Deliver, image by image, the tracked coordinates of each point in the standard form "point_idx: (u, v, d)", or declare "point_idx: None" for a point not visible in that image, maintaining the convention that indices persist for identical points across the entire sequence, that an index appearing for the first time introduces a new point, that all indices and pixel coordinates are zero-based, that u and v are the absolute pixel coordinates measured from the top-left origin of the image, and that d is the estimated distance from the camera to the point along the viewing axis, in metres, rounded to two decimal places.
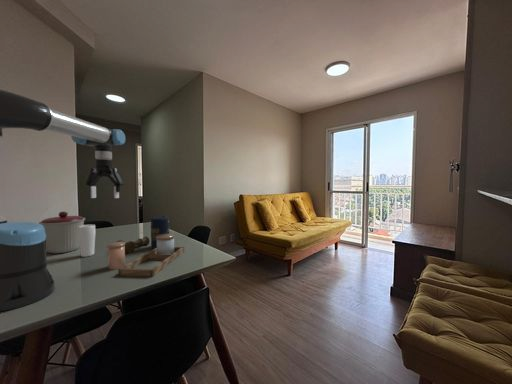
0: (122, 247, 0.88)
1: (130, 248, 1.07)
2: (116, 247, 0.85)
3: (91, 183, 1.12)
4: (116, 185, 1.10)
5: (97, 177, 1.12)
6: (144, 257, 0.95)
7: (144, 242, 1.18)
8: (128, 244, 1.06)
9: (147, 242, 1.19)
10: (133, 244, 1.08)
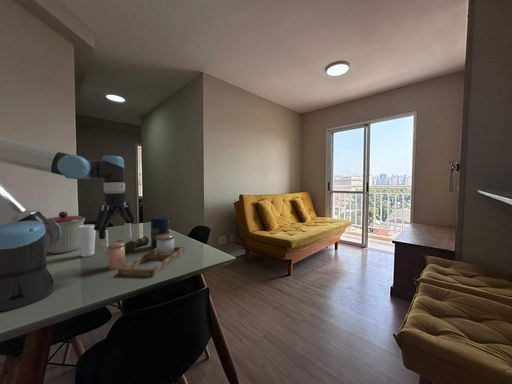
0: (122, 247, 0.88)
1: (131, 248, 1.07)
2: (116, 247, 0.85)
3: None
4: (96, 230, 0.80)
5: (120, 214, 0.91)
6: (144, 257, 0.95)
7: (144, 242, 1.18)
8: (129, 244, 1.06)
9: (146, 242, 1.20)
10: (133, 244, 1.09)
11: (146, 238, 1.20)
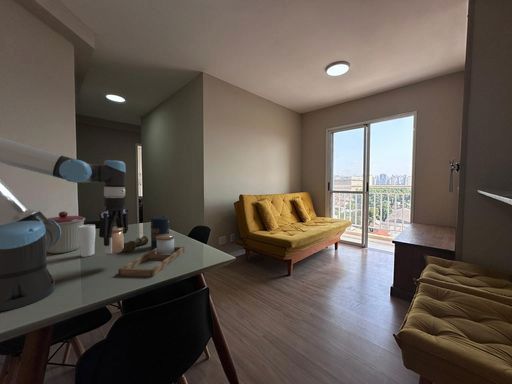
0: (120, 232, 0.87)
1: (131, 247, 1.08)
2: (114, 231, 0.85)
3: None
4: (101, 237, 0.83)
5: (116, 220, 0.89)
6: (144, 257, 0.95)
7: (143, 242, 1.19)
8: (129, 243, 1.07)
9: (146, 241, 1.20)
10: (134, 243, 1.10)
11: (145, 238, 1.20)
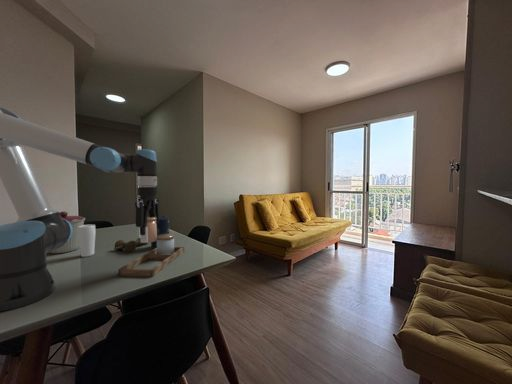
0: (154, 221, 0.87)
1: (132, 247, 1.08)
2: (149, 220, 0.85)
3: None
4: None
5: (149, 210, 0.89)
6: (144, 257, 0.95)
7: None
8: (130, 243, 1.07)
9: None
10: (134, 243, 1.10)
11: None
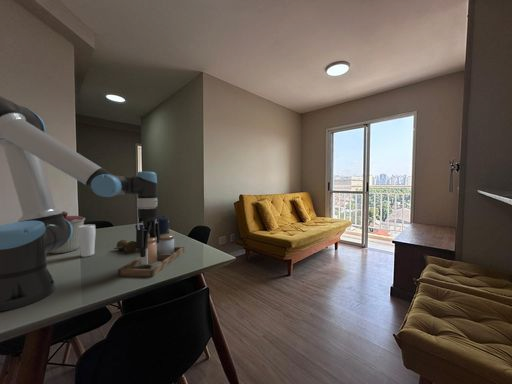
0: (154, 242, 0.87)
1: (132, 248, 1.07)
2: (149, 242, 0.85)
3: None
4: None
5: None
6: None
7: None
8: (130, 244, 1.06)
9: None
10: (135, 244, 1.09)
11: None
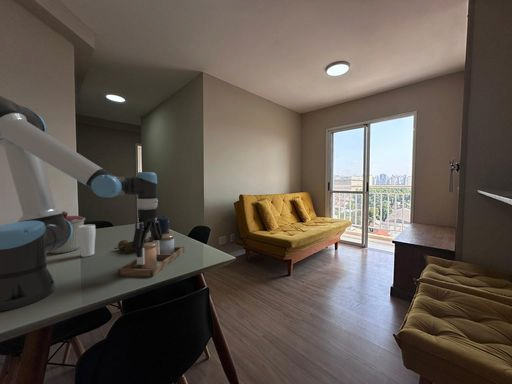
0: (154, 247, 0.87)
1: (131, 248, 1.06)
2: (149, 247, 0.85)
3: (153, 236, 0.94)
4: None
5: (150, 230, 0.91)
6: None
7: None
8: (129, 244, 1.06)
9: None
10: None
11: None
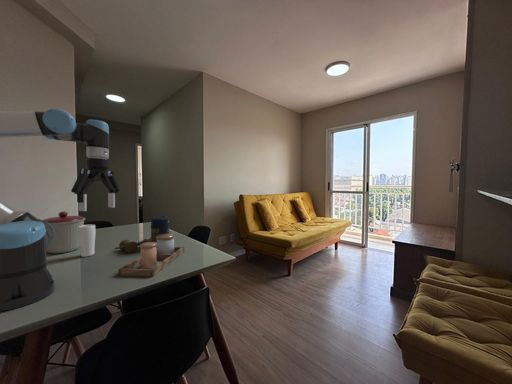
0: (154, 247, 0.87)
1: (132, 248, 1.06)
2: (149, 247, 0.85)
3: (108, 189, 0.93)
4: (74, 192, 0.78)
5: (103, 182, 0.89)
6: None
7: None
8: (129, 244, 1.05)
9: None
10: (135, 245, 1.08)
11: None
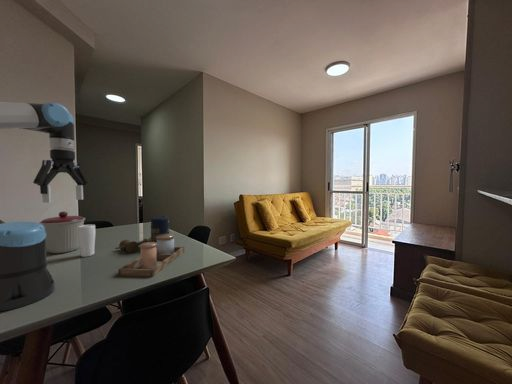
0: (154, 247, 0.87)
1: (132, 248, 1.07)
2: (149, 247, 0.85)
3: (76, 181, 0.92)
4: (37, 184, 0.77)
5: (69, 174, 0.89)
6: None
7: None
8: (130, 244, 1.06)
9: None
10: (136, 244, 1.08)
11: None
